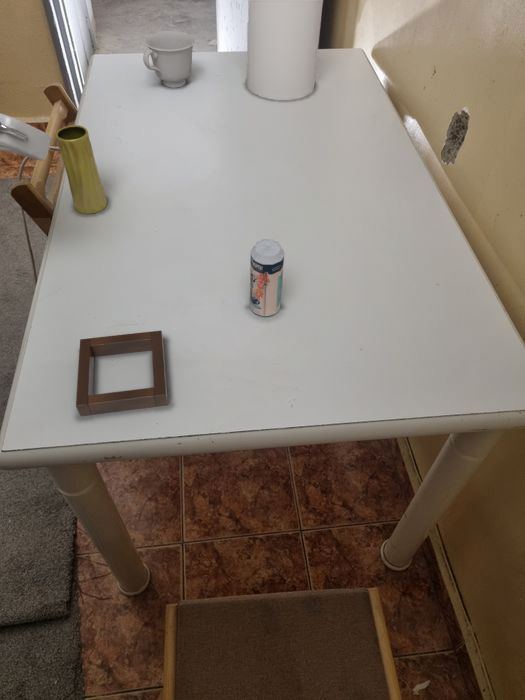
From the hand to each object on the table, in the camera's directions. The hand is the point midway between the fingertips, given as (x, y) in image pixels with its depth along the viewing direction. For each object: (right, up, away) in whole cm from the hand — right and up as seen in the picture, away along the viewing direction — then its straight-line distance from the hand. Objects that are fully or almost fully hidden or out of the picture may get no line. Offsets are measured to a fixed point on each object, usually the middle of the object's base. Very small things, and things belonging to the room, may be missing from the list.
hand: (16, 145), depth 78 cm
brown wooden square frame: (+18, -35, -5) cm, 39 cm away
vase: (+4, -3, +21) cm, 21 cm away
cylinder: (+42, +37, +56) cm, 79 cm away
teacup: (+14, +37, +54) cm, 66 cm away
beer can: (+37, -24, +5) cm, 45 cm away
